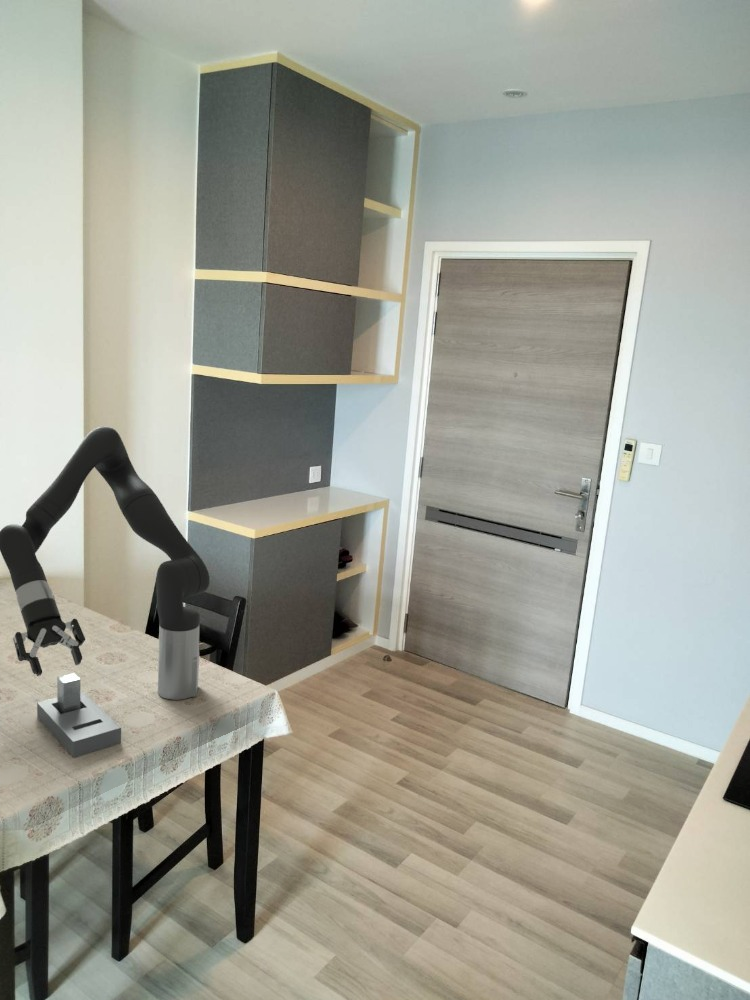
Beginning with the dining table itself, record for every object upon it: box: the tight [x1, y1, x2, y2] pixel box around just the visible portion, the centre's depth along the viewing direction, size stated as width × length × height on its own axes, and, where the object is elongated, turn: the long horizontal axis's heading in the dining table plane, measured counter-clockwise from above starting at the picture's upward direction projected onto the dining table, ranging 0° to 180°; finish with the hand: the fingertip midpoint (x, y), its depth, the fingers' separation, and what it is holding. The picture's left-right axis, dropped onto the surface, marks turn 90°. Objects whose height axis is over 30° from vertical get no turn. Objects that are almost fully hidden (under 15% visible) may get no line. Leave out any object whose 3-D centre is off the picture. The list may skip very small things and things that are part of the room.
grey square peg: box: [56, 672, 81, 714], centre depth 165 cm, size 4×4×10 cm
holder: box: [36, 690, 122, 758], centre depth 162 cm, size 20×10×4 cm, turn 43°
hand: (59, 669), depth 168 cm, fingers open, 8 cm apart
